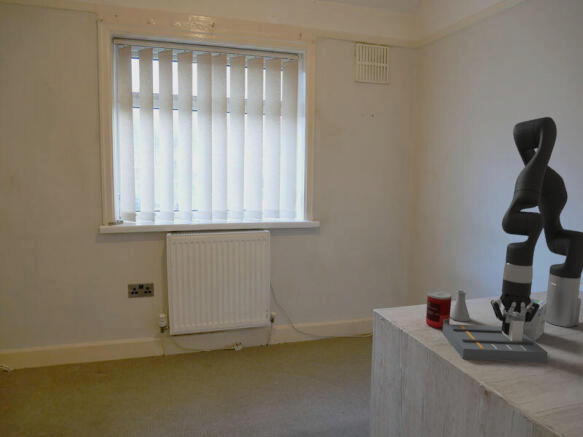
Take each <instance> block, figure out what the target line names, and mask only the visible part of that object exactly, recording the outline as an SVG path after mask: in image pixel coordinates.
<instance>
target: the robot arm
mask: <svg viewBox="0 0 583 437" xmlns="http://www.w3.org/2000/svg"><path fill="white" fill-rule="evenodd" d="M557 128H558V127H557V125H556V122H555V120H554V118H552V117H550V116H545V117H539V118H534V119H530V120H529V119H528V120H524V121H521V122H519V123H516V124H514V127H513V130H512V134H513V140H514V144H515V147H516V148H517V151H518V154H519V156H520V158H521V160H522V163H523V165H524V167H523V168H522V170H521V171H520V172H519V174H518V176H517V177H516V180H515V184H514V191H513V196H512V200H511V203H510V205H509V207H508V208H507V210H506V211H505V214H504V215H503V218H502V220H501V221H502V222H501V229H502V230H503V231H504V232H505V233H506V234H507V235H513V236H526V237H527V239H526V240H524V241H518V242H517V241H516V242H510V243H508V244H507V246H506V252H505V253H506V254H505V263H504V267H503V273H502V274H503V276H502V285H501V287H502V288H501V295H500V297H499V299H496V300H494V299H492V300H490V305H491V307H492V310H493V313H494V315H495V318H496V319H498V320H499V321H500V322H501V326H502V331H503V332H504V334H506V335H509V328H510V323H509V322H510V318H511V316H512V315H513V313H515V312H516V314H517V316H519V317H520V318H522V319H524V320H525V321H524V323H525V322H531V321H532V319H533V317H534V316H535V314H536V312H537V310H538V309H539V307H540V305H539V304H537V303H536V302H532V301H531V299H532V298H531V294H532V284H533V278H534V277H533V275H534V274H533V272H534V271H533V269H534V268H533V265H534V257H535V255H534V254H535V251H536V250H535V249H536V246H537V242H538V240H539V238H540V236H541V234H542V232H544V234H543V235H544V238H545V243H546V247H547V249H548V250H549V251H550V252H551V253H552V254H554V255H559V256H564V257H565V260H564V262H562V263H555V264H551V265H550V266H549V273H548V281H547V291H546V292H547V293H546V300H545V302H547V308H546V317H545V322H546V323H549V324H552V325H556V326H560V327H565V328H567V327H568V328H571V327H572V326H573V327H575V325H578V326H579V323H580V311H581V305H582V299H581V298H580V296H579V295H580V286H581V278H582V273H583V231H579V230H573V229H566V228H564V227H563V226H562V222H561V218H560V217H561V214H562V212H563V210H564V208H565V207H566V205H567V202H568V197H569V196H568V191H567V188H566V184H565V181H564V178H563V176H561V175H560V174H559V173H558V172H557V171H556V170H554V168H552V167H551V166H550V165H549V162H550V160H551V157H552V153H553V151H554V147H555V144H556V141H557V138H558V137H557V134H558V130H557ZM535 149H537V150H535ZM536 207H538V212H536V211H534V212H533V211H525V210H527V209H533V208H536ZM523 210H524V211H523ZM530 298H531V299H530ZM502 305H503V309H502V310H501V307H502ZM527 306H528V307H529V308H528V309H527V311H526V313H525V309H526V307H527ZM573 327H572V328H573ZM523 330H524V327H523Z"/></svg>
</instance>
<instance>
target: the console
mask: <svg viewBox="0 0 583 437" xmlns="http://www.w3.org/2000/svg"><path fill="white" fill-rule="evenodd" d="M441 333H442V334H443V336H444V337H445V338H446V340H448V342H449V343H450V344H451V346H452V347H453V348H454V350H455V351H456V352H457V353H458V354H459V356H460V358H462V359H464V360H479V361H481V360H485V361H499V362H500V361H501V362H502V361H505V362H525V363H529V362H530V363H544V364H546V363H547V362H548V361H547V360H548V351H547V350H545V349H544V348H542V347H541V346H540V345H539V344H537V343H536V341H532V340H531V339H530V338H529V337H527V336H526V335H525V334H524V333H523V337H522V341H510V340H509V339H508V338H507V337H506V336H505V335H504V334H502V325H499V326H497V325H478V324H477V325H476V324H474V325H473V324H472V325H471V324H452V323H451V324H450V323H449V324H443V329H442V332H441Z"/></svg>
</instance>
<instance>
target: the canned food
mask: <svg viewBox="0 0 583 437" xmlns="http://www.w3.org/2000/svg"><path fill="white" fill-rule="evenodd" d="M451 307H452V294H451V293H450V292H447V291H443V290H430V291H428V292H427V297H426V313H425V314H426V315H425V323H426V325H427V326H429V327H431V328H433V329H440V330H441V329H442V330H443V324H450V319H451V318H450V313H451V311H452V309H451Z"/></svg>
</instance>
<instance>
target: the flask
mask: <svg viewBox="0 0 583 437" xmlns="http://www.w3.org/2000/svg"><path fill="white" fill-rule="evenodd" d="M456 293H457V295H456V300H455V303H454V304H453V306H452V309H451V310H450V319H452V320H453V321H457V322H458V321H459V322H470V321H471V317H470V313H469V311H468V307H467V303H466V294H467V291H465V290H461V289H460V290H456Z"/></svg>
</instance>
